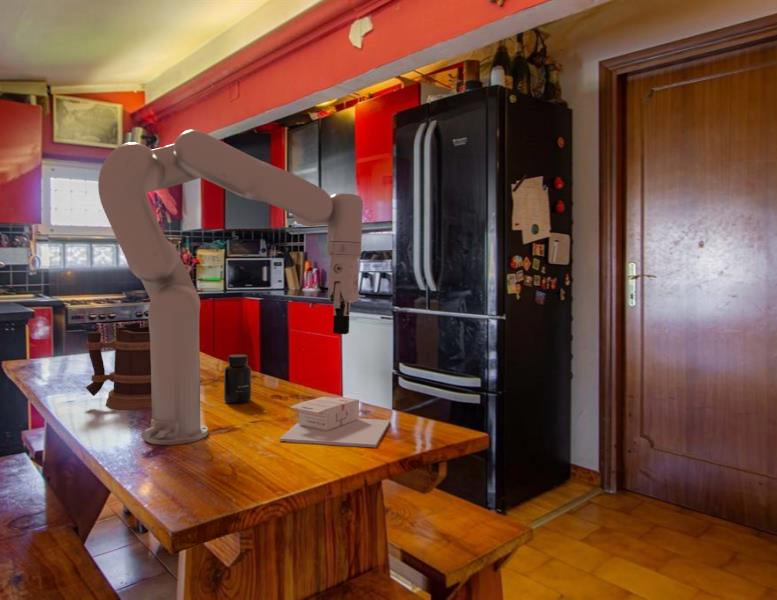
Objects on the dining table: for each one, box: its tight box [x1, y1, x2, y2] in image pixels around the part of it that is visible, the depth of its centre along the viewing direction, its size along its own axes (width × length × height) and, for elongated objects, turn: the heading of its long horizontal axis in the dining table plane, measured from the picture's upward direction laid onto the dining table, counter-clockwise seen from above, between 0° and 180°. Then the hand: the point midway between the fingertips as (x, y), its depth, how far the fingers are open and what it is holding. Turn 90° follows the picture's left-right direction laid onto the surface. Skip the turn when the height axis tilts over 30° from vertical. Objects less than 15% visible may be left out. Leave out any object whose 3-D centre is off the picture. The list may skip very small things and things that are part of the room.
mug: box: [85, 321, 152, 411], centre depth 150 cm, size 18×23×20 cm
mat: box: [278, 418, 391, 448], centre depth 127 cm, size 18×20×1 cm
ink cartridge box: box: [289, 394, 360, 431], centre depth 130 cm, size 9×5×15 cm
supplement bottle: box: [223, 354, 252, 405], centre depth 152 cm, size 7×7×12 cm
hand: (341, 333), depth 130 cm, fingers closed
